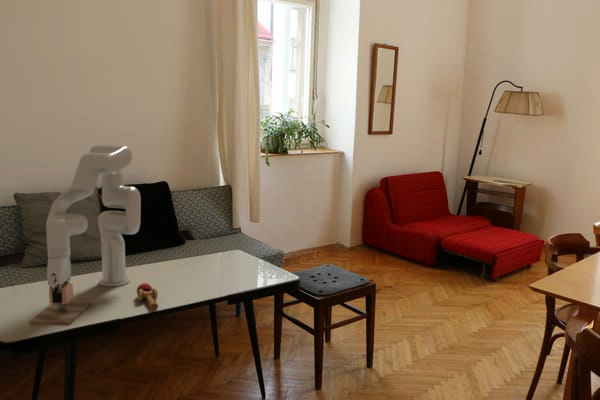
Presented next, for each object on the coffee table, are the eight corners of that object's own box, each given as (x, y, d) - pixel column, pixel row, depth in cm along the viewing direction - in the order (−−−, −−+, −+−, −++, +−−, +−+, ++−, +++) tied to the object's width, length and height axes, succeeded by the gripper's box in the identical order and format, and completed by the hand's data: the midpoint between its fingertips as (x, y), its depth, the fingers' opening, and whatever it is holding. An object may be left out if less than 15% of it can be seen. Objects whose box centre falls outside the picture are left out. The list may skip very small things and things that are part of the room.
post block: (55, 303, 205) (54, 285, 204) (91, 303, 205) (91, 286, 204) (30, 323, 185) (28, 304, 184) (70, 324, 186) (69, 305, 184)
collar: (57, 297, 197) (56, 283, 196) (73, 298, 197) (72, 283, 196) (49, 303, 191) (48, 288, 190) (66, 303, 191) (65, 289, 190)
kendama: (166, 311, 203) (153, 290, 218) (163, 297, 201) (151, 277, 216) (146, 318, 200) (134, 296, 215) (143, 303, 198) (131, 283, 212)
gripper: (59, 245, 200) (61, 291, 203) (37, 258, 183) (40, 307, 186) (79, 246, 200) (81, 291, 203) (59, 258, 183) (61, 308, 186)
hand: (61, 299), depth 194 cm, fingers closed on collar, 6 cm apart
